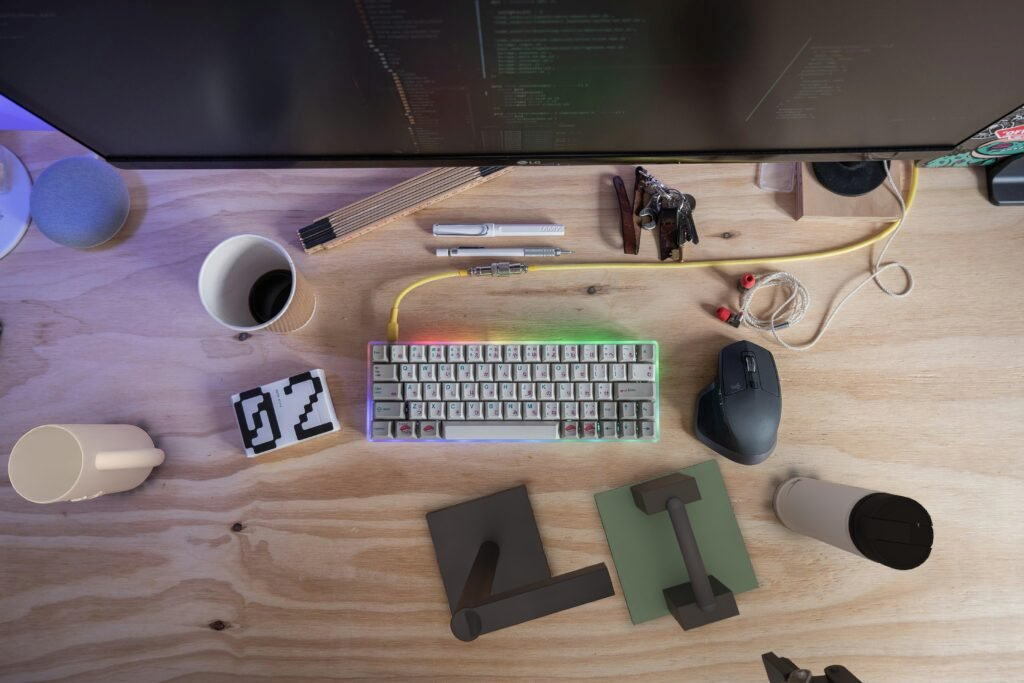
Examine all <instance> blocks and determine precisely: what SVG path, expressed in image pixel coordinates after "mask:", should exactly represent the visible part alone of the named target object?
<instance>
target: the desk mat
mask: <svg viewBox="0 0 1024 683" xmlns="http://www.w3.org/2000/svg"><path fill="white" fill-rule="evenodd" d="M678 472H679V473H682V474H685V475H688V476H692V477H695V480H696V483H697V486H698V489H699V492H700V495H701V498H702V499H701V500H698V501H695V502H692V503H688V504H685V509H686V512H687V515H688V518H689V521H690V524H691V527H692V530H693V533H694V536H695V539H696V542H697V545H698V549H699V552H700V555H701V558H702V561H703V564H704V567H705V570H706V573H707V576H709V575H713V576H714V577H715V578H716V579H718V580H719V581H720V582H721V583H723V584H724V585H725V586H726V587H727V588H729V589H730V590H731V591H732V592H733V595H734V596H735V595H740V594H742V593H746V592H750V591H753V590H755V589H759V588H760V585H759V582H758V579H757V577H756V573H755V570H754V567H753V565H752V561H751V558H750V556H749V552H748V550H747V546H746V543H745V541H744V537H743V535H742V531H741V529H740V526H739V522H738V520H737V517H736V513H735V511H734V507H733V505H732V501H731V499H730V496H729V492H728V490H727V487H726V484H725V482H724V478H723V475H722V472H721V469H720V465H719V464H718V461H717V459H716V458H715V459H712V460H711V459H710V460H708V461H704V462H701V463H697V464H695V465H691V466H688V467H685V468H684V467H683V468H680V469H677V470H674V471H671V472H668V473H664V474H660V475H658V476H654V477H651V478H650V477H649V478H648V479H644V480H640V481H637V482H634V483H630V484H627V485H624V486H620V487H617V488H613V489H610V490H607V491H604V492H600V493H597V494H594V499H595V503H596V506H597V509H598V513H599V516H600V519H601V522H602V526H603V529H604V532H605V537H606V539H607V543H608V545H609V550H610V552H611V555H612V559H613V561H614V566H615V568H616V572H617V575H618V579H619V582H620V585H621V588H622V592H623V595H624V598H625V602H626V605H627V608H628V612H629V614H630V618H631V622H632V624H633V626H636V625H639V624H642V623H646V622H649V621H652V620H656V619H660V618H663V617H665V616H670V615H672V614H671V613H670V612H669V610H668V607H667V604H666V600H665V597H664V594H663V591H662V590H663V589H666V588H670V587H673V586H676V585H680V584H683V583H686V582H689V581H690V578H689V575H688V572H687V569H686V566H685V563H684V559H683V556H682V553H681V550H680V547H679V544H678V541H677V538H676V535H675V531H674V528H673V525H672V522H671V519H670V516H669V513H668V510H665V511H661V512H658V513H655V514H651V515H647V514H645V513H644V512H643V511H641V510H640V509H639V508H637V507H636V505H635V502H634V498H633V495H632V492H631V489H630V487H631V486H634V485H637V484H641V483H644V482H647V481H651V480H654V479H657V478H661V477H664V476H668V475H671V474H674V473H678Z"/></svg>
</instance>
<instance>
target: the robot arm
mask: <svg viewBox="0 0 1024 683" xmlns="http://www.w3.org/2000/svg"><path fill="white" fill-rule="evenodd" d="M761 660H762V663H763V666H764V670H765V672H766V676H767V679H768V681H769V683H863V682H862V681H861V680H860V679H859V678H858V677H856V675H854V674H853V673H852V671H850V670H849V669H848V668H846V666H844V665H842V664H831V665H827V666H825V668H823V672H824V674H820V675H813V673H812V671H811V670H809V669H808V668H800V667H798V666H797V664H795V663H794V662H793V661H792V660H791V659H790V658H789V657H785V656H780V657H779V656H778V655H776V653H775V652H774V651H769V652H765V653H762V654H761Z"/></svg>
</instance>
